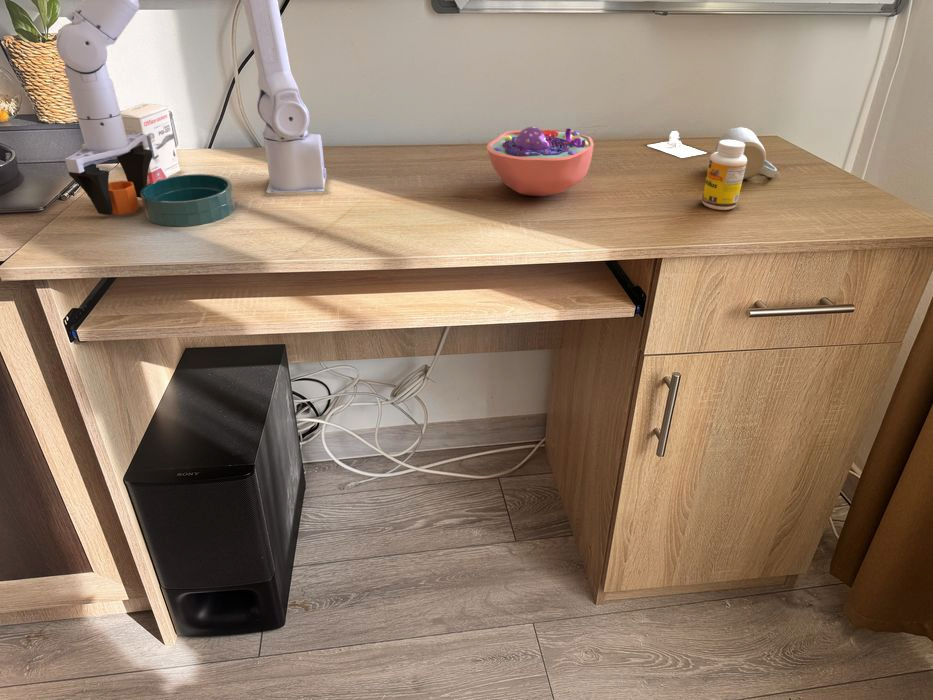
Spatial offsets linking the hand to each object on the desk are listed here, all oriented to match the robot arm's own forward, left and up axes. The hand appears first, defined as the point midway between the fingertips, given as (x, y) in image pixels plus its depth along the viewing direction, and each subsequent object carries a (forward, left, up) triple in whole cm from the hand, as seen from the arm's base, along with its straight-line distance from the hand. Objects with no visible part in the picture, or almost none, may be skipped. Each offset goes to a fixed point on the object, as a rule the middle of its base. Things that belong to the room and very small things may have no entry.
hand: (123, 204), depth 106 cm
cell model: (-67, -3, -1) cm, 67 cm away
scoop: (+2, -1, -1) cm, 2 cm away
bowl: (-10, +2, -1) cm, 11 cm away
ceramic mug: (-107, -8, -1) cm, 107 cm away
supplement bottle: (-95, +7, -1) cm, 95 cm away
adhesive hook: (-101, -25, -1) cm, 104 cm away
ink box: (-1, -16, -1) cm, 16 cm away
